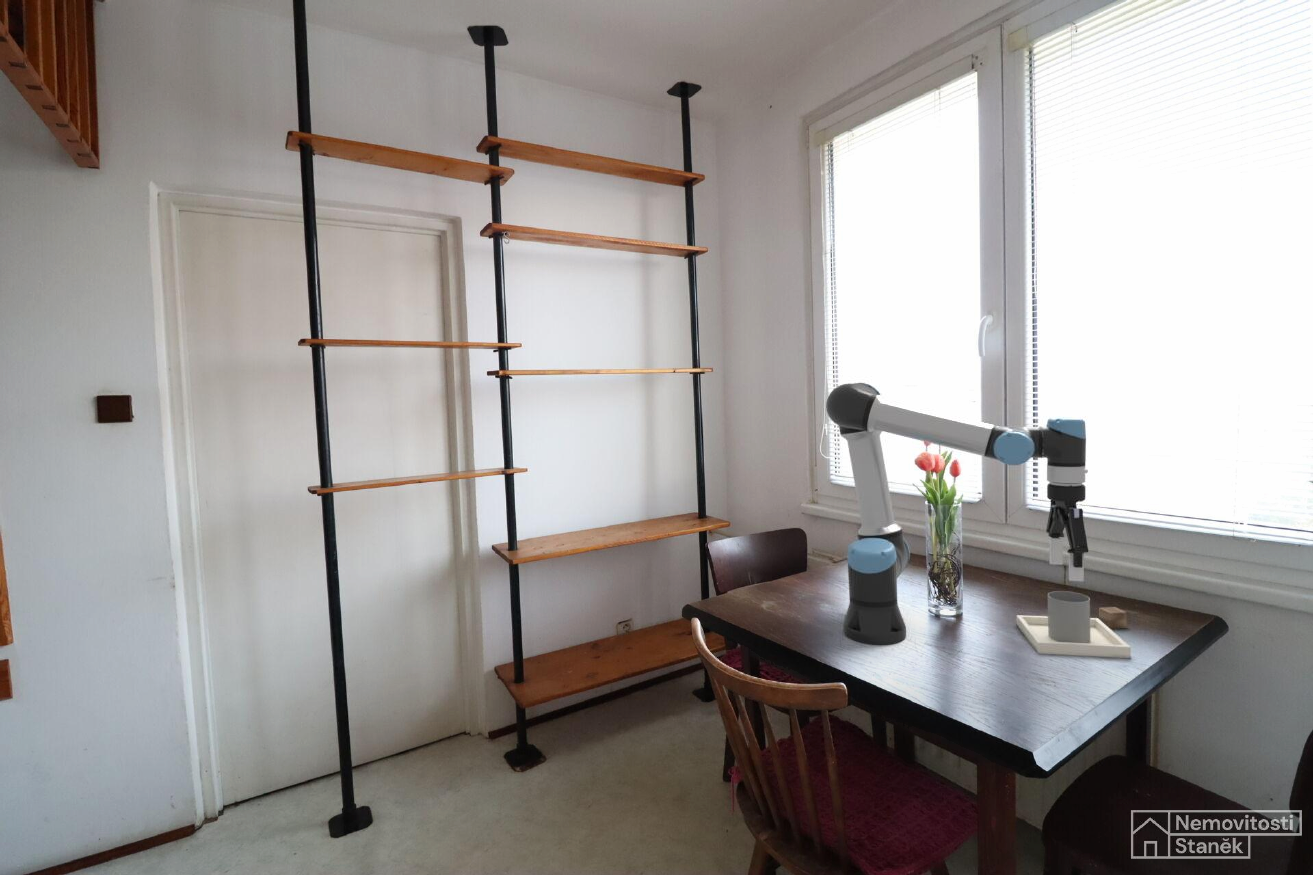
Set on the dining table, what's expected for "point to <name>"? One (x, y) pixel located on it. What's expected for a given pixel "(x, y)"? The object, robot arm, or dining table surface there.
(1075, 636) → the cup
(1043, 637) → the tray
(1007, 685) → the dining table surface
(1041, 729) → the dining table surface
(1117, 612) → the walnut block
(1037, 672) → the dining table surface
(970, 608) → the dining table surface
